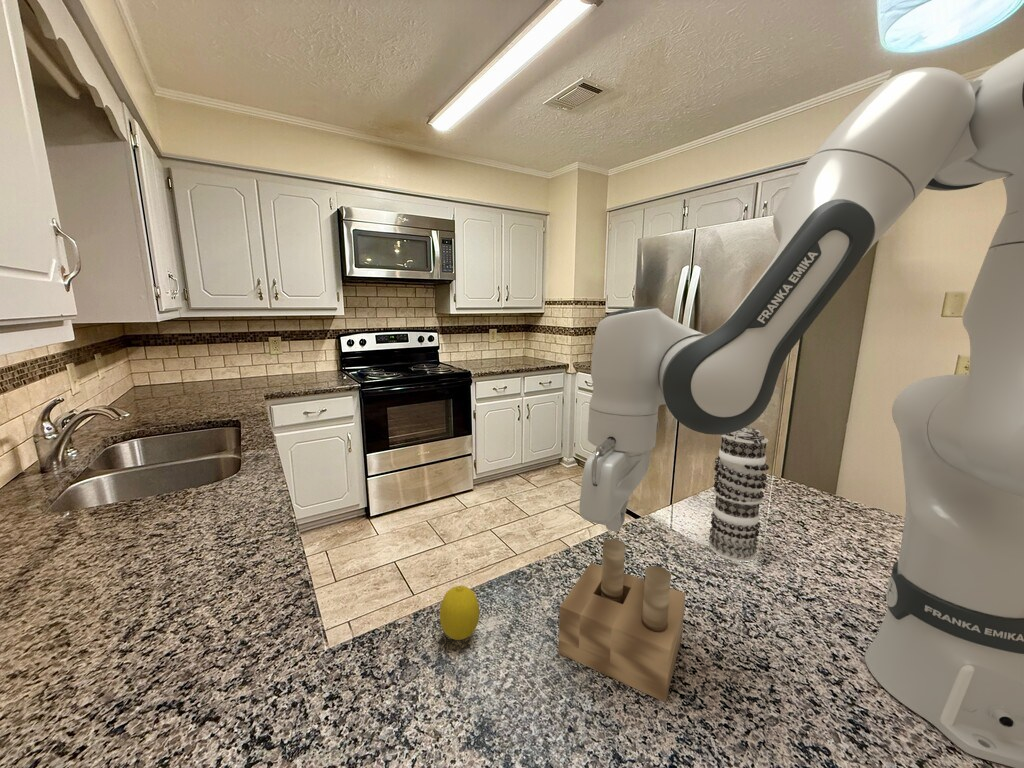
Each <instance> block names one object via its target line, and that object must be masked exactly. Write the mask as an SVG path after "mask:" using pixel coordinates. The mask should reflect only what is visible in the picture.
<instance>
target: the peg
mask: <svg viewBox="0 0 1024 768" xmlns="http://www.w3.org/2000/svg"><path fill="white" fill-rule="evenodd" d="M625 554H626V543H624V542H623V541H621V540H619V539H617V538H609V539H608V538H607V539H605V540H603V542H602V559H601V561H602V562H601V566H602V581H601V597H604V598H606V599H609V600H612V601H615V602H617V603H620V604H622V599H623V579H624V573H625V560H626V559H625V558H626V557H625V556H626V555H625Z"/></svg>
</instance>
